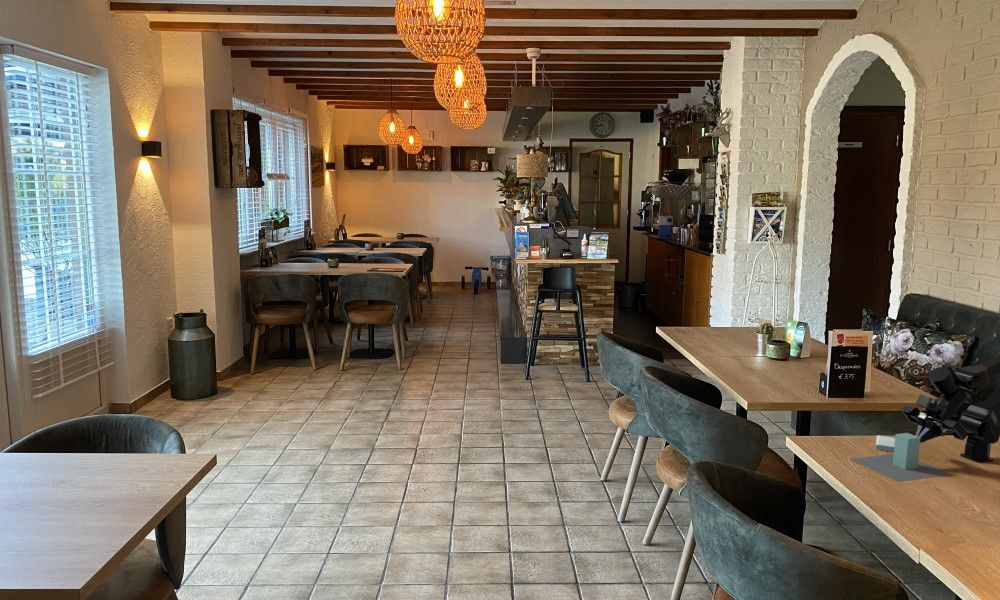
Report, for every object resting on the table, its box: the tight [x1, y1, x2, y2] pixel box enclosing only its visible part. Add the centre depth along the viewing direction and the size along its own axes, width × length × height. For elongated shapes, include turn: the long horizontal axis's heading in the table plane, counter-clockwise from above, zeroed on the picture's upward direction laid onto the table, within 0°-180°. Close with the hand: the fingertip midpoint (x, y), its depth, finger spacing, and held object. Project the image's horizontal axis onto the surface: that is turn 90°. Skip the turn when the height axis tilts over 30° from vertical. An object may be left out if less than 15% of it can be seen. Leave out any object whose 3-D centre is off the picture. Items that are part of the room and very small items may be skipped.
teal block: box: [893, 432, 921, 469], centre depth 217 cm, size 4×4×9 cm
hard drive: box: [875, 434, 895, 453], centre depth 235 cm, size 2×8×12 cm
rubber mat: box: [848, 453, 954, 483], centre depth 217 cm, size 20×18×1 cm
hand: (915, 443), depth 218 cm, fingers closed
